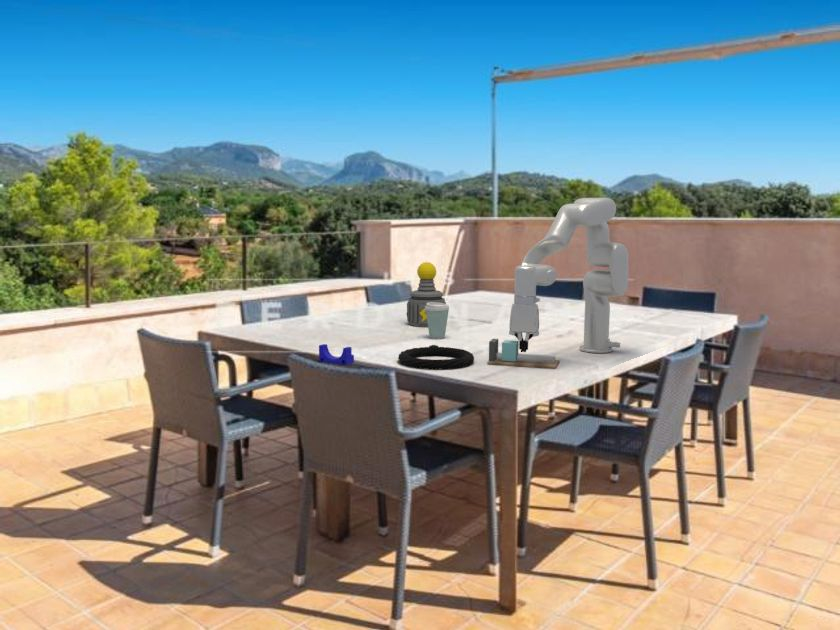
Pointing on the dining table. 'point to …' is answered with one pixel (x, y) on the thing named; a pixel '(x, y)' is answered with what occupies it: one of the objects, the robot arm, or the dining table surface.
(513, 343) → the slider
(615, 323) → the dining table surface
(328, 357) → the cable clip
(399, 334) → the dining table surface
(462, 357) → the cable lock
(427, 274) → the decorative lamp
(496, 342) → the stop
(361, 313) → the dining table surface
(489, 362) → the board
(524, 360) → the rail
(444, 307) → the disposable coffee cup
